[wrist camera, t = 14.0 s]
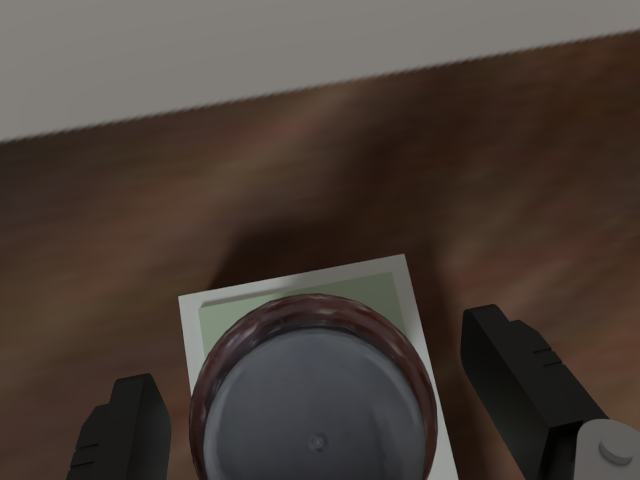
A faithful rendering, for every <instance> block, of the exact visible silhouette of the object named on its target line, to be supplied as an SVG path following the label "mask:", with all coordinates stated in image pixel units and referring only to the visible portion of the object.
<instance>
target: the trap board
mask: <svg viewBox="0 0 640 480" xmlns="http://www.w3.org/2000/svg"><path fill="white" fill-rule="evenodd" d="M311 293H313V294H316V293H322V294H327V295H335V296H339V297H344V298H348V299H352V300H354V301H357V302H360V303H362V304H364V305H366V306H368V307H370V308H371V309H373V310H374V311H376V312H377V313H379V314H381V315H382V316H384V317H385V318H386V319H388V320H389V321H390V322H391V323H392V324H393V325H394V326H395V327H397V328H398V329H399V330H400V331H401V332H402V333H403V334H404V335H405V336H406V337H407V339H408V340H409V341H410V343H411V344H412V345H413V346H414V348H415V350H416V351H417V353H418V354H419V356H420V358H421V360H422V361H423V363H424V365H425V368H426V370H427V372H428V375H429V378H430V381H431V383H432V387H433V391H434V394H435V399H436V403H437V418H438V436H437V448H436V452H435V457H434V461H433V465H432V468H431V472H430V474H429V477H428V479H427V480H458V475H457V471H456V467H455V463H454V459H453V455H452V450H451V446H450V442H449V438H448V434H447V430H446V425H445V421H444V417H443V413H442V409H441V405H440V400H439V396H438V392H437V388H436V384H435V380H434V375H433V371H432V367H431V363H430V359H429V355H428V350H427V346H426V342H425V338H424V334H423V330H422V325H421V321H420V317H419V313H418V309H417V305H416V300H415V296H414V292H413V288H412V284H411V280H410V275H409V271H408V267H407V263H406V259H405V255H404V254H400V255H395V256H390V257H384V258H379V259H374V260H369V261H363V262H358V263H353V264H347V265H342V266H337V267H332V268H326V269H321V270H316V271H310V272H305V273H300V274H295V275H289V276H284V277H279V278H273V279H268V280H263V281H258V282H252V283H247V284H242V285H236V286H231V287H226V288H221V289H215V290H210V291H205V292H199V293H194V294H189V295H184V296H178V298H179V305H180V313H181V320H182V328H183V335H184V343H185V350H186V358H187V365H188V373H189V380H190V388H191V395H192V394H193V390H194V387H195V384H196V382H197V378H198V375H199V372H200V370H201V368H202V365H203V363H204V361H205V360H206V358H207V355H208V353H209V352H210V351H211V350H212V348H213V346H214V345H215V344H216V342H217V341H218V340H219V339H220V338H221V336H222V335H223V334H224V333H225V331H227V330H228V329H229V328H230V327H231V326H232V325H233V324H235V323H236V322H237V320H239V319H240V318H242V317H243V316H245V315H246V314H247V313H248V312H250V311H252V310H254V309H256V308H258V307H259V306H261V305H263V304H265V303H267V302H269V301H271V300H275V299H279V298H282V297H287V296H292V295H299V294H311Z"/></svg>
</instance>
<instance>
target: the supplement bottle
mask: <svg viewBox="0 0 640 480" xmlns="http://www.w3.org/2000/svg"><path fill="white" fill-rule="evenodd" d="M437 436H438V418H437V403H436V399H435V394H434V391H433V387H432V383H431V381H430V378H429V375H428V372H427V370H426V368H425V365H424V363H423V361H422V360H421V358H420V356H419V354H418V353H417V351H416V350H415V348H414V346H413V345H412V344H411V343H410V341H409V340H408V339H407V337H406V336H405V335H404V334H403V333H402V332H401V331H400V330H399V329H398V328H397V327H395V326H394V325H393V324H392V323H391V322H390V321H389V320H388V319H386V318H385V317H384V316H382V315H381V314H379V313H377V312H376V311H374V310H373V309H371V308H370V307H368V306H366V305H364V304H362V303H360V302H357V301H354V300H352V299H348V298H344V297H339V296H335V295H327V294H322V293H316V294H313V293H311V294H299V295H292V296H287V297H282V298H279V299H275V300H271V301H269V302H267V303H265V304H263V305H261V306H259V307H258V308H256V309H254V310H252V311H250V312H248V313H247V314H246V315H245V316H243V317H242V318H240V319H239V320H237V322H236V323H235V324H233V325H232V326H231V327H230V328H229V329H228V330H227V331H225V333H224V334H223V335H222V336H221V338H220V339H219V340H218V341H217V342H216V344H215V345H214V346H213V348H212V350H211V351H210V352H209V353H208V355H207V358H206V360H205V361H204V363H203V365H202V368H201V370H200V372H199V375H198V378H197V382H196V384H195V387H194V390H193V394H192V398H191V403H190V414H189V440H190V447H191V454H192V458H193V463H194V466H195V469H196V472H197V476H198V478H199V480H427V479H428V477H429V474H430V472H431V468H432V465H433V461H434V457H435V452H436V448H437Z"/></svg>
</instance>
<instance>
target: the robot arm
mask: <svg viewBox="0 0 640 480" xmlns="http://www.w3.org/2000/svg"><path fill="white" fill-rule="evenodd" d="M460 353H461V360H462V364H463V367H464V370H465V372H466V375H467V376H468V378H469V380H470V382H471V383H472V385H473V387H474V389H475V391H476V392H477V394H478V396H479V398H480V399H481V401H482V403H483V405H484V407H485V408H486V410H487V412H488V414H489V415H490V417H491V419H492V421H493V422H494V424H495V426H496V428H497V430H498V431H499V433H500V435H501V437H502V438H503V440H504V442H505V444H506V445H507V447H508V449H509V451H510V453H511V454H512V456H513V458H514V460H515V461H516V463H517V465H518V467H519V468H520V470H521V472H522V474H523V476H524V477H525V479H526V480H640V433H639V432H637V431H636V430H635V429H633V428H631V427H630V426H627V425H625V424H623V423H620V422H618V421H614V420H610V419H609V418H608V417H607V416H606V415H605V413H604V412H603V411H602V410H601V409H600V407H599V406H598V405H597V404H596V402H595V401H594V400H593V399H592V398H591V396H590V395H589V394H588V393H587V391H586V390H585V389H584V388H583V386H582V385H581V384H580V383H579V382H578V380H577V379H576V378H575V377H574V375H573V374H572V373H571V372H570V370H569V369H568V368H567V367H566V366H565V365H563V364H562V361H561V359H560V358H559V357H558V356H557V354H556V353H555V352H554V351H552V350H551V347H550V346H549V345H548V343H547V342H546V341H545V340H544V338H543V337H542V336H541V335H540V334H539V332H537V331H536V330H534V329H533V328H531V327H530V326H528V325H527V324H525V323H524V322H522V321H521V320H516V321H511V322H509V320H508V319H507V318H506V316H505V315H504V314H503V312H502V311H501V310H500V309H499V307H498V306H497V305H495V304H491V305H486V306H481V307H476V308H471V309H466V310H465V311H464V313H463V323H462V336H461V349H460ZM170 442H171V423H170V417H169V414H168V411H167V408H166V406H165V404H164V402H163V399H162V397H161V395H160V393H159V390H158V388H157V386H156V384H155V381H154V379H153V377H152V375H151V374H150V373H146V374H141V375H136V376H131V377H126V378H121V379H117V380H116V381H115V383H114V386H113V390H112V394H111V398H110V402H109V404H105V405H100V406H96V407H95V409H94V410H93V412H92V413H91V415H90V416H89V417H88V419H87V420H86V422H85V423H84V424H83V426H82V428H81V431H80V435H79V438H78V441H77V445H76V448H75V449H76V452H75V453H74V455H73V458H72V462H71V465H70V468H71V470H70V471H69V472H68V475H67V478H66V480H166V478H167V469H168V460H169V451H170Z"/></svg>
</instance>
